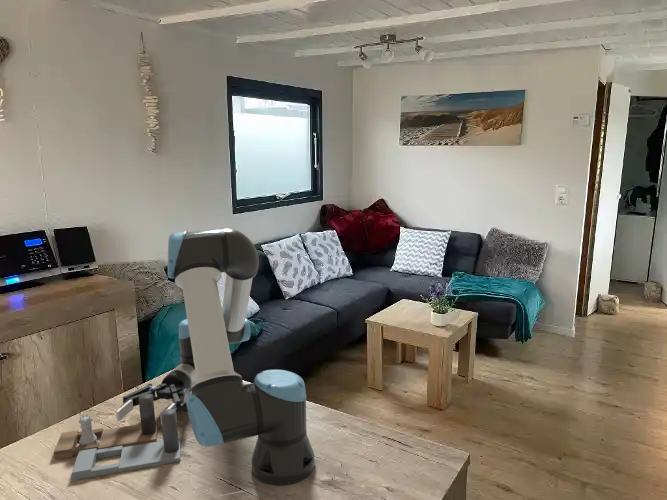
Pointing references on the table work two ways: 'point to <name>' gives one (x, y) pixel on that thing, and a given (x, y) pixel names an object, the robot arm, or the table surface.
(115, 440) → the brown board with post
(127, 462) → the grey board with post
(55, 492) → the table surface
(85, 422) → the rook chess piece
